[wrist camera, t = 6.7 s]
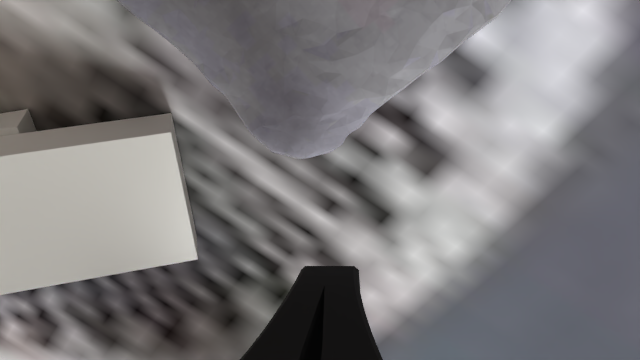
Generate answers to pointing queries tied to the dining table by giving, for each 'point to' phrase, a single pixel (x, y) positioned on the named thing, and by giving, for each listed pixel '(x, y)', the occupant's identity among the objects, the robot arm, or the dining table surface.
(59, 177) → the domino
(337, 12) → the stone block
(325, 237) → the dining table surface
